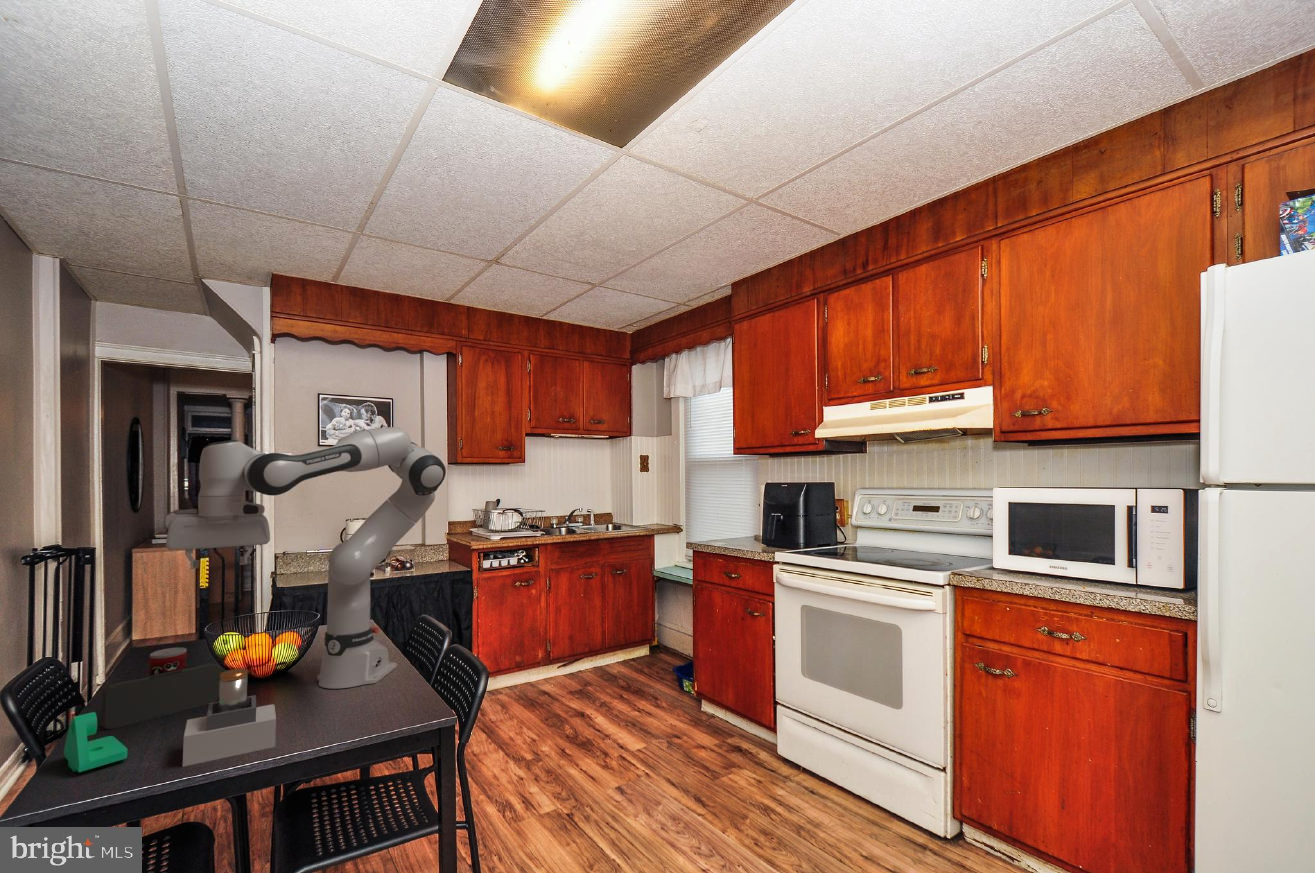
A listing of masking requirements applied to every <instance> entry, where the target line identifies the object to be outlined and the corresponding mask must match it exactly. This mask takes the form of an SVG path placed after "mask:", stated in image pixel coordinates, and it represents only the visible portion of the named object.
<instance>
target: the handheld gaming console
mask: <svg viewBox="0 0 1315 873" xmlns="http://www.w3.org/2000/svg"><path fill="white" fill-rule="evenodd" d="M220 674H221V667H220V666H219V665H218V664H217V663H205V664H200V665H197V666H190V667H186V668H184V669H179V670H174V671H170V672H165V673H160V674H155V675H151V676H149V675H147V676H141V677H137V678H132V679H130V680H125V681H120V682H115V683H112V684H110V685H107V686H106V687H105V688H104V689H103V690H102V693H101V694H102V697H101V698H102V699H101V718H100V719H101V720H100V725H101V726H102V727H103V728H105V729H106V730H112V729H117V728H123V727H125V726H130V725H134V724H138V723H142V722H145V721H149V720H154V719H157V718H161V717H165V716H168V715H172V714H176V713H180V712H184V711H189V710H192V709H196V708H199V707H200V708H201V707H204V706H207V705H208V706H209V703H213V702H217V700H219V686H220Z"/></svg>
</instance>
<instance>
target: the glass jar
mask: <svg viewBox="0 0 1315 873" xmlns="http://www.w3.org/2000/svg"><path fill="white" fill-rule="evenodd" d="M248 672H249V670H248V669H247V668H233V669H228V670H225V671H223V672H220V679H219V698H218V702H219V711H218V713H221V712H227V711H233V710H238V709H244V708H246V701H247V697H248V674H249V673H248Z"/></svg>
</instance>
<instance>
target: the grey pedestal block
mask: <svg viewBox="0 0 1315 873" xmlns="http://www.w3.org/2000/svg"><path fill="white" fill-rule="evenodd" d="M275 708H276V707H275V704H267V705H262V706H258V707H257V696H256V694H255V695H250V696H248V695H247V701H246V708H244V709H238V710H233V711H227V712H221V713H218V711H219V701H216V702H213V703H209V704H208V708H207V713H206V714H207V715H206V716H201V717H196V718H190V719H187V720H186V724H185V730H184V733H183V734H184V735H183V746H182V748H183V750H182V768H183V767H188V766H193V765H197V764H202V763H206V762H212V761H216V760H221V759H225V758H231V757H235V756H240V755H245V754H248V753H253V752H254V753H255V752H257V751H258V752H260V751H262V750H267V749H273V748H276V738H277V736H276V733H277V732H276V731H277V729H276V728H277V715H276V709H275Z"/></svg>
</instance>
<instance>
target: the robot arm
mask: <svg viewBox="0 0 1315 873" xmlns="http://www.w3.org/2000/svg"><path fill="white" fill-rule="evenodd" d="M385 466H387V467H388V468H389V470H391V472H392V473H394V474H395V475H396V476H397V477H398V478H399V479H400V480H401V483H400V485H399V487H398V488H397V490H396V491H395V492H393V493H392V494H391V495H390V496H389V497H388V498H387V499H386V500H385V501H384V502H383V503H382V504H380V506H378V507H377V508H376V510H374V511H373V512H372V513H371V514H370V516H368V517H367V518H366V519H365V521H364V522H363V523H362V524H361V525H360V526H359V527H358V528H357V529H356V530H355V531H354V533H353V534H352V535H351V536H350V537H349V538H348V539H347V540H346V541H343V542H341V543H338V544H337V545H335V547H334V548H333V549H332V550H331V552H330V554H329V557H328V572H327V573H328V574H327V576H328V577H327V578H328V581H327V582H328V583H327V612H326V613H327V615H326V616H327V617H326V621H327V622H326V631H325V634H324V646H325V648H324V649H323V651H322V655H321V662H320V669H319V671H320V672H319V673H318V674H317V676H316V680H317V681H318V685H319V687H321V688H324V689H333V690H334V689H345V688H346V689H348V688H353V687H358V686H363V685H371V684H376V683H378V682H379V681H381V680H382V679H383V678H385V677H386V676H387V675H388V674H390V673H391V672H392V671H394V670H395V669H396V668H397V667H398V663H397V662H393V661H391V660H389V659H390V658H389V650H388V648H387V647H386V646H385V645H383V644H381V643H380V642H378V641H377V640H375V637H374V634H378V633H379V631H380V626H377V625H376V626H374V625H373V626H370V625H371V573H372V572H373V571H374V570H375V569H376V568H377V567H378V566H379V564H380V563H381V562H382V561H383V560H384V559H385V558H386V556H388V554H389V553H390V552H391V550H392V549H393V548H394V547H395V545H397V544H398V542H399V541H400V540H401V539H403V537H404V536H405V535H406V534H407V533H408V532H409V531H410V530H411V529H413V527H414V526H415V525H416V524H417V523H419V521H420V520H421V519H422V518H423V516H424V515H425V514H426V513H427V512H428V511H429V509H430V508H431V506H432V504H433V503H434V502H435V499H436V493H435V492H437V490H438V488H439V487H440V486H441V485H442V484H443V482H444V481H445V478H446V473H447V470H446V465H445V464H444V463H443V461H442V460H441V459H440V458H439V457H438V456H436V455H435V454H433V453H432V451H430V450H428V449H427V448H425V447H422V446H419V445H418V444H417V443H416V442H413V441H411V437H410V435H409V433H408V432H407V431H406V430H405V429H404V428H401V427H399V426H394V427H393V426H389V427H387V426H385V427H377V428H376V427H375V428H369V429H365V430H360V431H357V432H353V433H350V434H347V435H345V436H342V437H341V438H339V439H338V440H337V441H336V443H335V444H333V446H330V447H328V448H324V449H318V450H316V451H311V452H307V453H302V454H297V455H295V454H294V455H293V454H292V455H291V454H285V453H279V452H271V453H265V452H262V451H259V450H258V449H255V448H252V447H250V446H249V445H247V444H244V443H243V442H242V441H240V440H238V439H232V440H224V441H217V442H212V443H209V444H207V445H205V446H204V447H203V449H202V451H201V455H200V460H199V466H198V467H199V469H198V480H199V482H200V488H199V489H200V490H199V492H198V494H197V495H198V498H197V499H198V500H197V504H198V505H197V508H189V509H174V510H173V511H170V512H168V513H167V514H166V515H165V520H164V526H165V528H166V529H167V534H166V542H165V547H166V549H167V550H168V551H182V550H183V551H184V555H185V557H186V558H187V559H188V561H189V562H190V569H191V570H193V569H194V570H195V569H199V566H200V565H199V563H200V560H199V559H194V557H193V556H192V554H193V553H194V550H198V549H199V550H200V549H214V548H227V547H228V548H229V547H231V548H233V547H245V550H246V551H245V552H246V553H244V555H243V556H240V557H239V565H240V566H243V565H244V566H245V565H248V558H249V557H250V554H251V553H252V551H253V550H254V546H260V545H267V544H268V543H269V542H270V541H271V533H270V532H271V531H270V530H271V529H270V524H269V521H268V519H267V517H266V516H265V515H264V513H265V511H266V510H265V506H264V505H262V504H260V503H255V502H254V501H250V500H249V501H246V500H245V499H244V496H245V495H244V493H245V491H252V492H255V493H260V494H262V495H264V496H265V495H266V496H279V495H282V494H285V493H287V492H289V491H290V490H292V489H293V488H294V487H296V486H298V484H300V483H302V482H304V481H307V480H310V479H313V478H317V477H321V476H325V475H329V474H332V473H338V472H347V473H357V472H359V473H360V472H366V471H371V470H376V469H378V468H382V467H385Z"/></svg>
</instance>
